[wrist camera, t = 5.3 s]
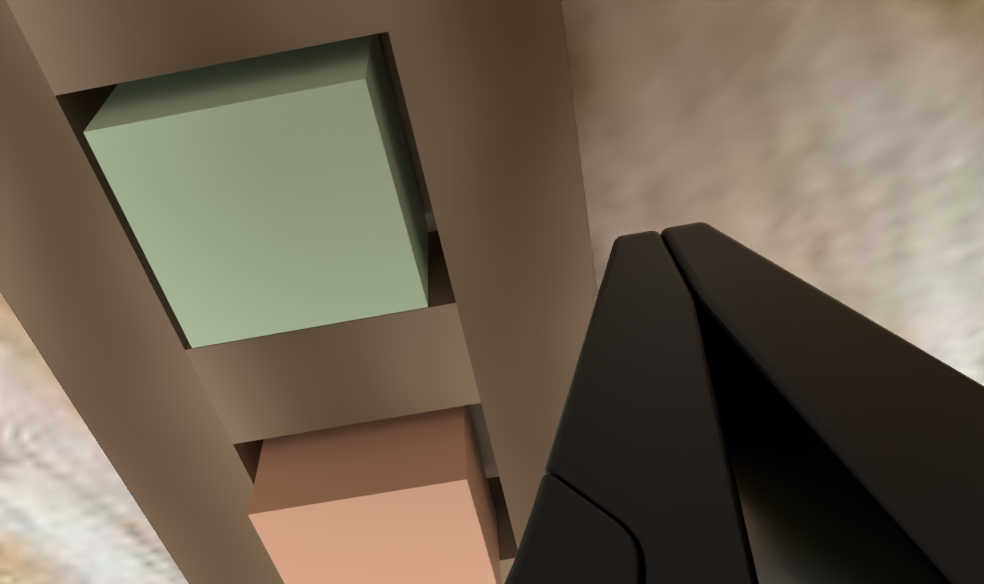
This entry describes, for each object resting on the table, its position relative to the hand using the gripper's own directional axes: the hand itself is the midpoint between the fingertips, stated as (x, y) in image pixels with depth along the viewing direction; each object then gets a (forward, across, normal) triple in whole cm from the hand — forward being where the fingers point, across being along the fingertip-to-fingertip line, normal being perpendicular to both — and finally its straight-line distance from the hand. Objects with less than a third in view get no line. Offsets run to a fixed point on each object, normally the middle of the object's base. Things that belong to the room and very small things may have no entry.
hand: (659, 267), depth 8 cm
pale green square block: (+10, +6, +3) cm, 12 cm away
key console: (+12, +6, +12) cm, 18 cm away
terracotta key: (+9, +6, +12) cm, 16 cm away
